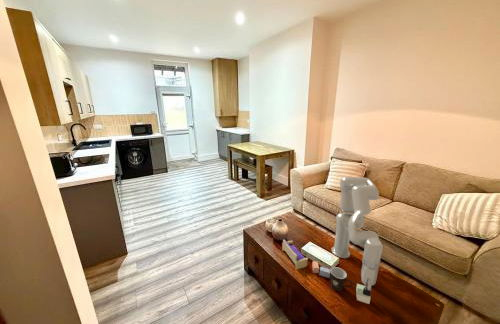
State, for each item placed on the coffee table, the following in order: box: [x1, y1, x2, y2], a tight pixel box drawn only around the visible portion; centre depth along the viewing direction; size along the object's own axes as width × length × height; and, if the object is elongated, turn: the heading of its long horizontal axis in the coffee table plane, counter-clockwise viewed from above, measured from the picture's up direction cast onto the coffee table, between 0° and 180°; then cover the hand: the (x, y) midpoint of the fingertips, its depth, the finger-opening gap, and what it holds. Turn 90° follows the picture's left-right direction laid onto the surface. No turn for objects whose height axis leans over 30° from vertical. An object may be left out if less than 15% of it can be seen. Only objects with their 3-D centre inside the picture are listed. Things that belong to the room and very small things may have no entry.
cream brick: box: [356, 294, 371, 305], centre depth 112 cm, size 6×3×4 cm, turn 66°
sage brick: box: [355, 283, 369, 298], centre depth 111 cm, size 6×3×4 cm, turn 65°
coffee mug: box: [330, 266, 353, 292], centre depth 118 cm, size 12×9×10 cm
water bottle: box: [366, 252, 383, 286], centre depth 122 cm, size 9×8×25 cm
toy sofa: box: [281, 239, 309, 270], centre depth 142 cm, size 21×9×10 cm, turn 19°
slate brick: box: [318, 266, 331, 279], centre depth 128 cm, size 6×3×4 cm, turn 64°
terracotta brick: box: [311, 260, 320, 274], centre depth 133 cm, size 6×3×4 cm, turn 171°
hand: (365, 287), depth 110 cm, fingers open, 9 cm apart
